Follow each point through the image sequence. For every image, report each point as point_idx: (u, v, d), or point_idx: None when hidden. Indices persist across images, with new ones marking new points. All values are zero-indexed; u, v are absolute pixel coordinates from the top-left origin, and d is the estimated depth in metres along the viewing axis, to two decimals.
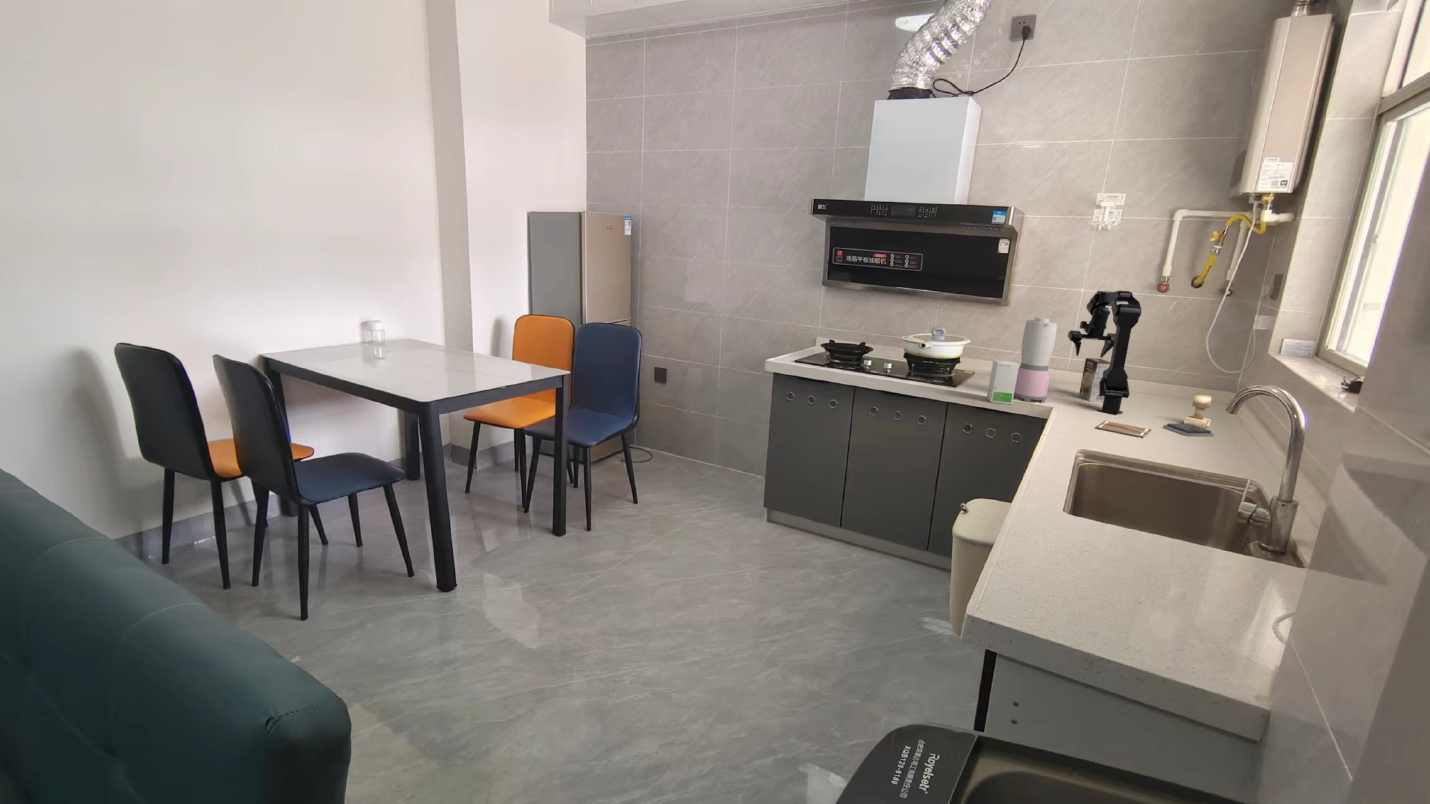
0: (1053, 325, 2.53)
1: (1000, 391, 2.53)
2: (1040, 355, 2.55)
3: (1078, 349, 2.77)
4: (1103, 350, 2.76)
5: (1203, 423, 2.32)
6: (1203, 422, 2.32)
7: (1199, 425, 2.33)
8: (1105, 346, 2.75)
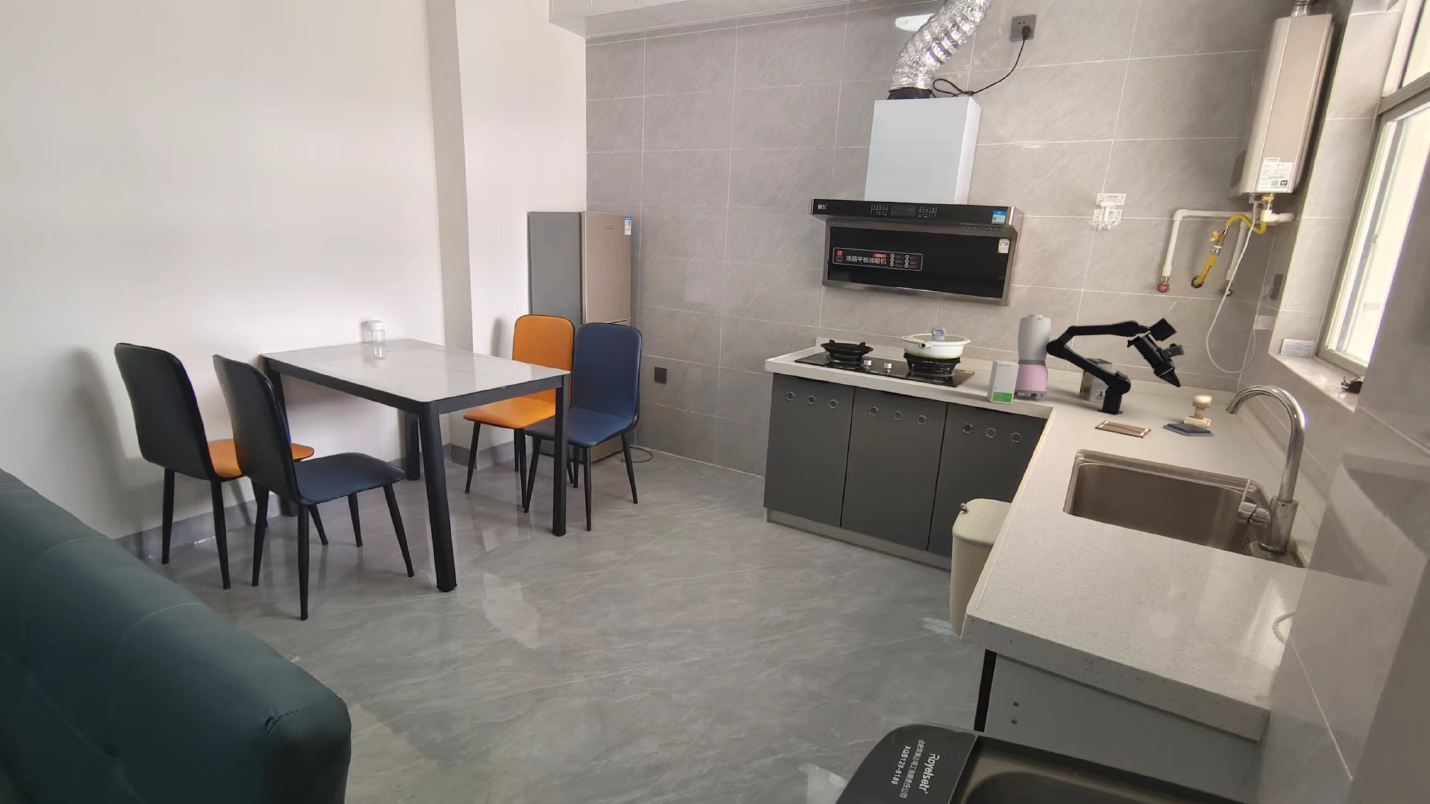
0: (1047, 319, 2.58)
1: (1000, 391, 2.53)
2: (1036, 349, 2.59)
3: None
4: None
5: (1203, 423, 2.32)
6: (1203, 422, 2.32)
7: (1199, 425, 2.33)
8: None
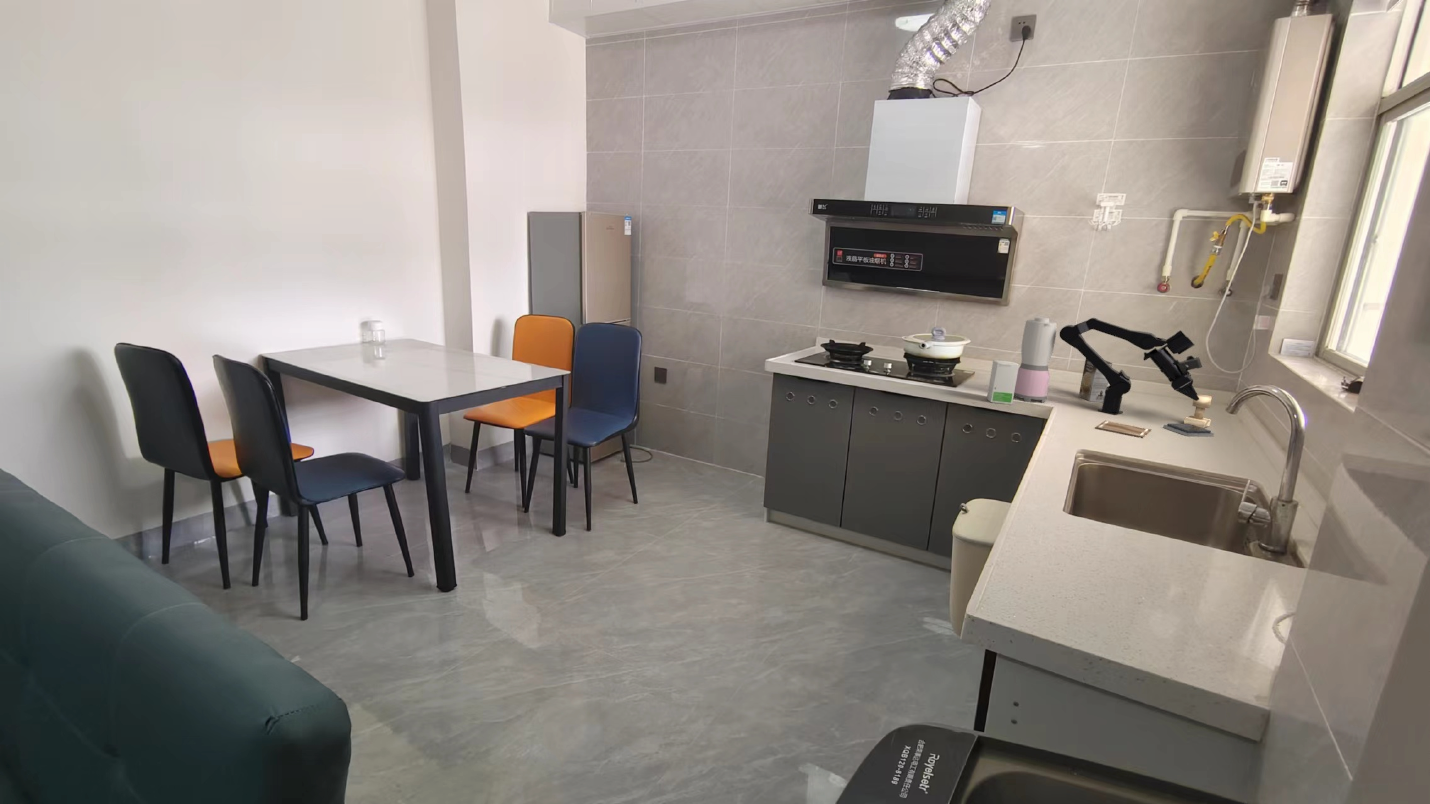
0: (1053, 325, 2.53)
1: (1000, 391, 2.53)
2: (1040, 355, 2.55)
3: None
4: None
5: (1203, 423, 2.32)
6: (1203, 422, 2.32)
7: (1199, 425, 2.33)
8: None
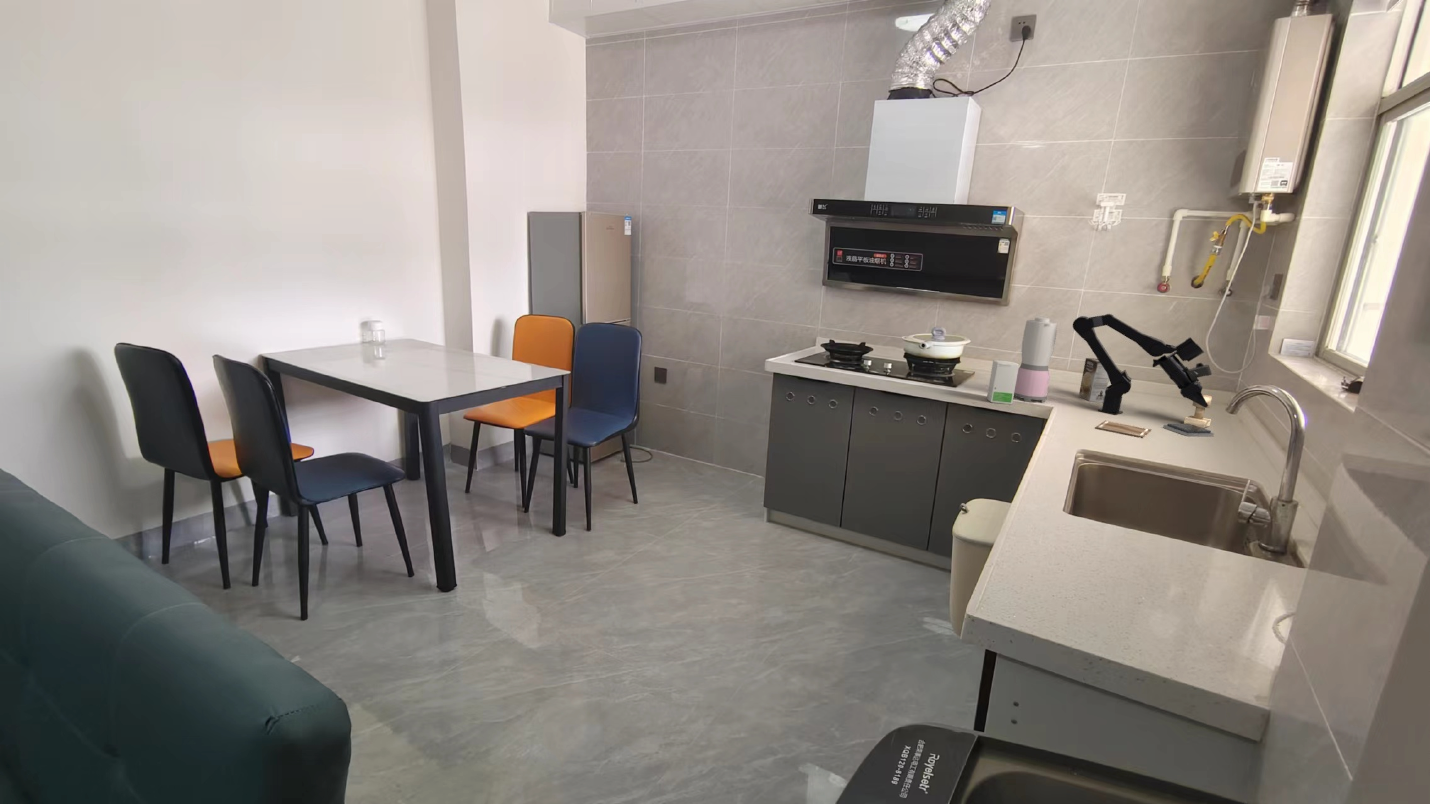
0: (1053, 325, 2.53)
1: (1000, 391, 2.53)
2: (1040, 355, 2.55)
3: None
4: None
5: (1203, 423, 2.32)
6: (1203, 422, 2.32)
7: (1199, 425, 2.33)
8: None
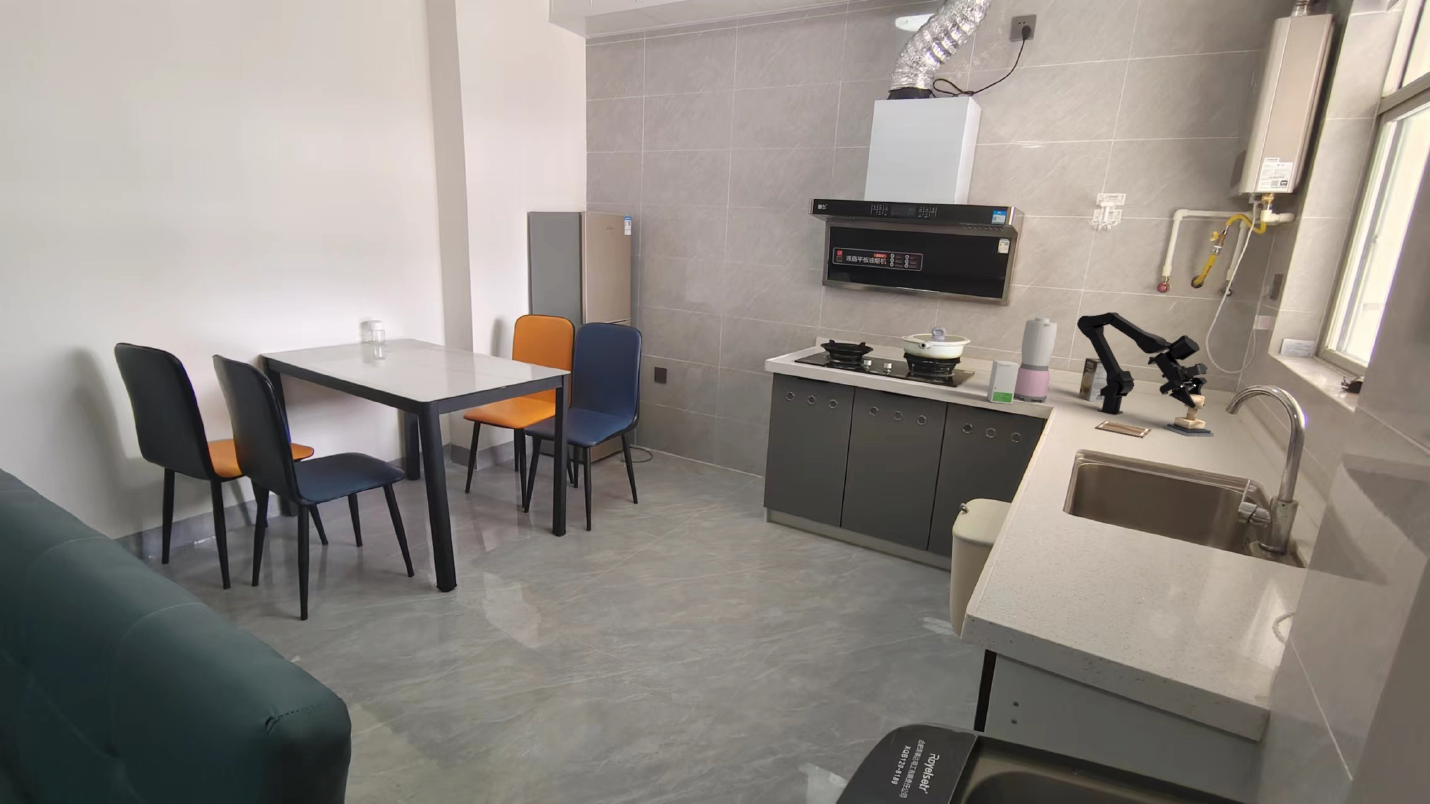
0: (1053, 325, 2.53)
1: (1000, 391, 2.53)
2: (1040, 355, 2.55)
3: None
4: None
5: (1188, 423, 2.23)
6: (1188, 422, 2.23)
7: (1185, 425, 2.24)
8: None
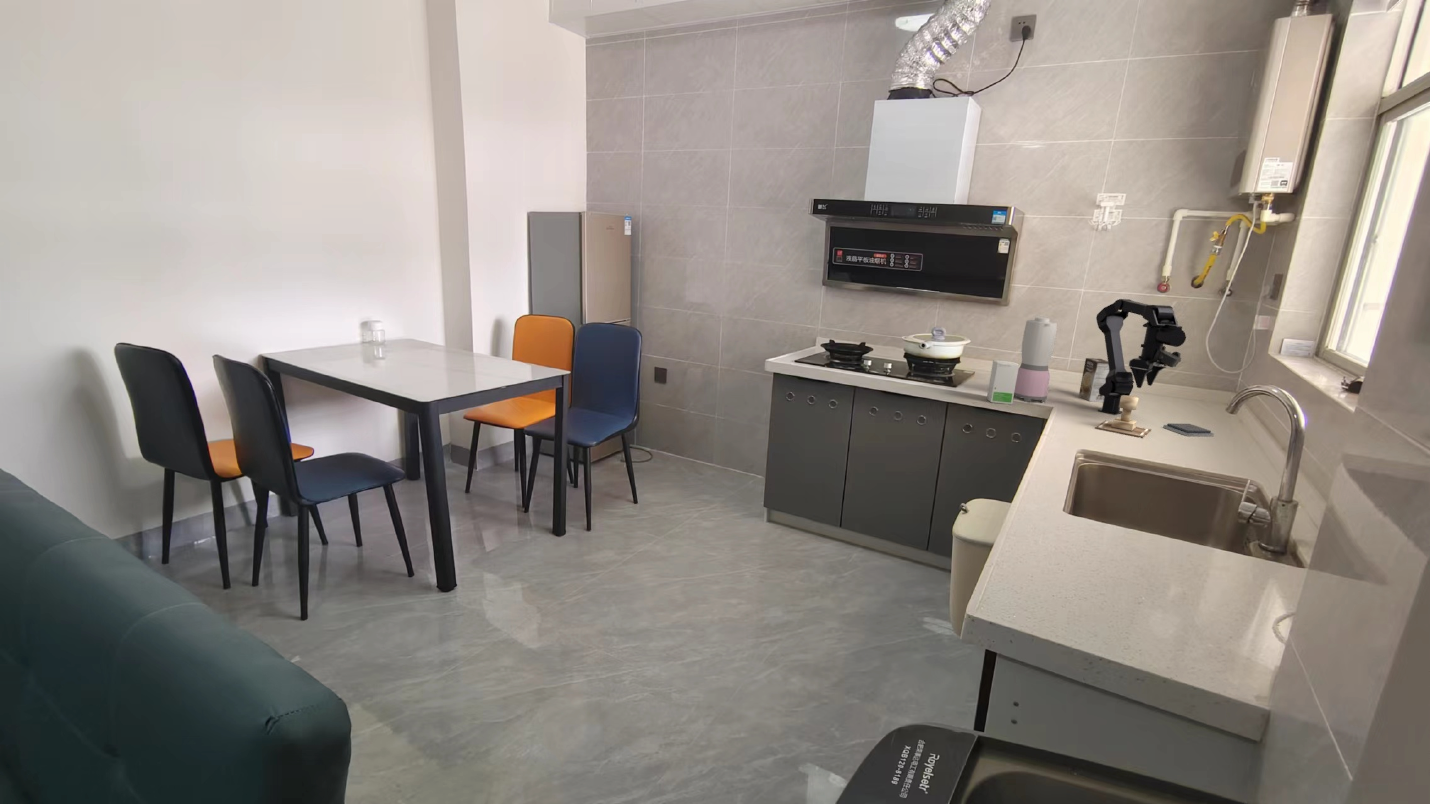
0: (1053, 325, 2.53)
1: (1000, 391, 2.53)
2: (1040, 355, 2.55)
3: None
4: None
5: (1112, 422, 2.25)
6: None
7: None
8: None
